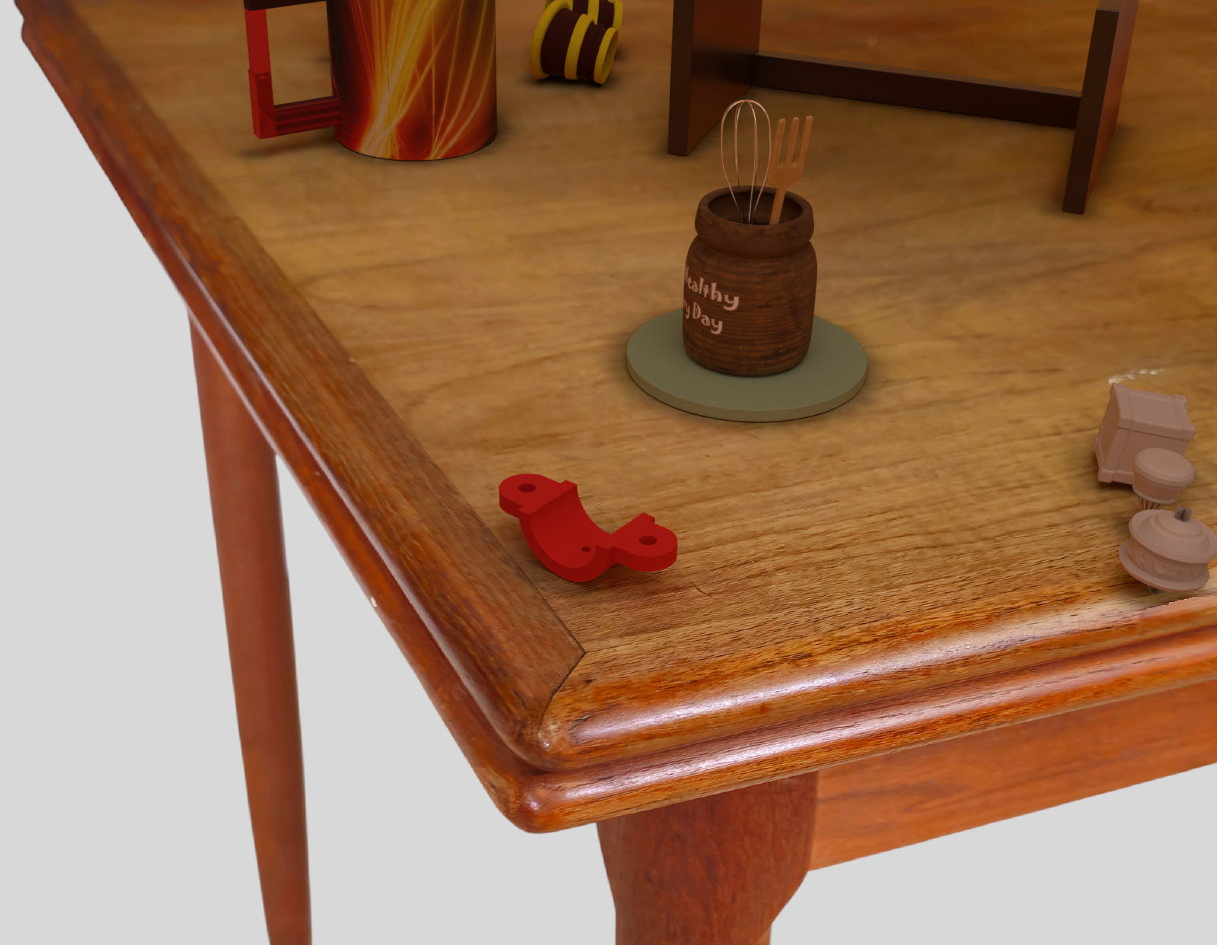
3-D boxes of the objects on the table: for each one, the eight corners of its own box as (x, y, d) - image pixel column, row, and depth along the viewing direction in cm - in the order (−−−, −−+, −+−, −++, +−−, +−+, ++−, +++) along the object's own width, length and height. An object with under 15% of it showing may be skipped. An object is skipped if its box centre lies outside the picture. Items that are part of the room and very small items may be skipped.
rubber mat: (909, 401, 80) (910, 389, 80) (680, 438, 77) (680, 425, 77) (802, 301, 89) (804, 289, 89) (592, 331, 86) (592, 319, 85)
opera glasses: (603, 104, 115) (621, 27, 112) (522, 84, 114) (537, 7, 112) (614, 57, 123) (630, -16, 120) (538, 38, 122) (553, -35, 120)
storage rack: (739, 77, 117) (750, -101, 111) (1115, 127, 111) (1149, -58, 105) (667, 153, 105) (675, -41, 99) (1083, 214, 99) (1119, 11, 93)
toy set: (1192, 389, 75) (1164, 466, 77) (1110, 374, 75) (1085, 451, 77) (1238, 542, 65) (1204, 625, 67) (1144, 524, 65) (1113, 607, 67)
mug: (250, 156, 104) (230, -61, 97) (404, 94, 113) (396, -108, 106) (379, 194, 99) (368, -30, 92) (529, 126, 109) (528, -82, 102)
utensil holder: (776, 315, 86) (796, 64, 79) (835, 373, 81) (862, 110, 74) (661, 332, 84) (671, 77, 78) (714, 391, 79) (730, 125, 73)
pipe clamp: (529, 464, 71) (530, 511, 72) (481, 493, 69) (483, 541, 70) (694, 534, 67) (692, 582, 68) (647, 567, 65) (646, 616, 66)
